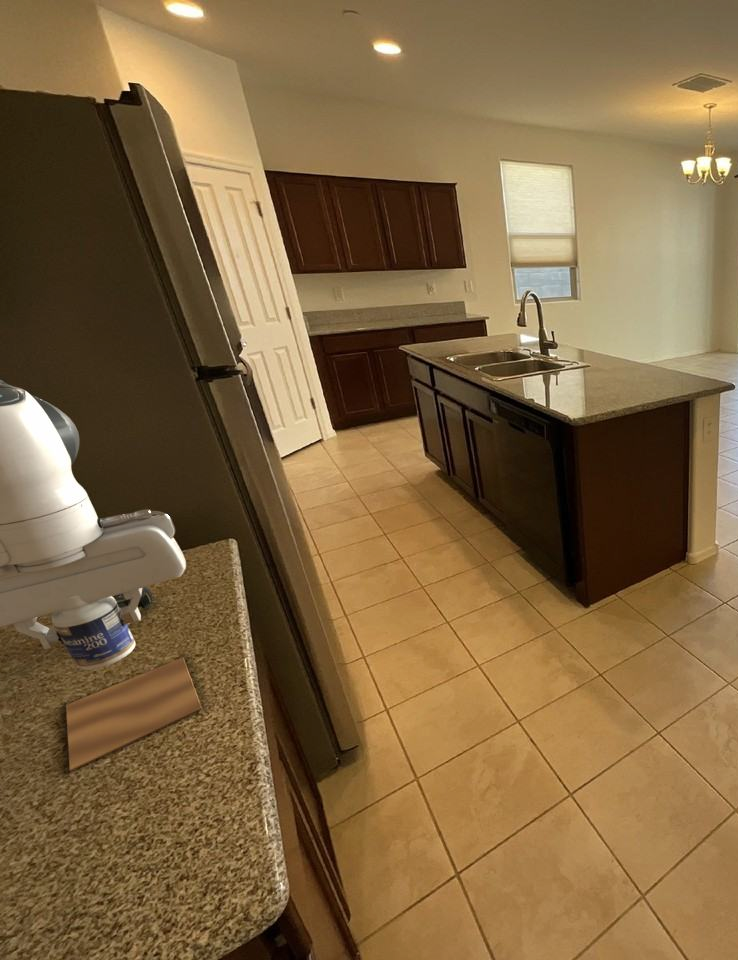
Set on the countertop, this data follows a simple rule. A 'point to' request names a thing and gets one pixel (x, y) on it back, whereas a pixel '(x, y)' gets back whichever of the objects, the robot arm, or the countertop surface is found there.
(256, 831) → the countertop surface
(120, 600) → the tape measure
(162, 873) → the countertop surface
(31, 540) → the robot arm
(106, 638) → the pill bottle
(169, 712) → the wooden board
